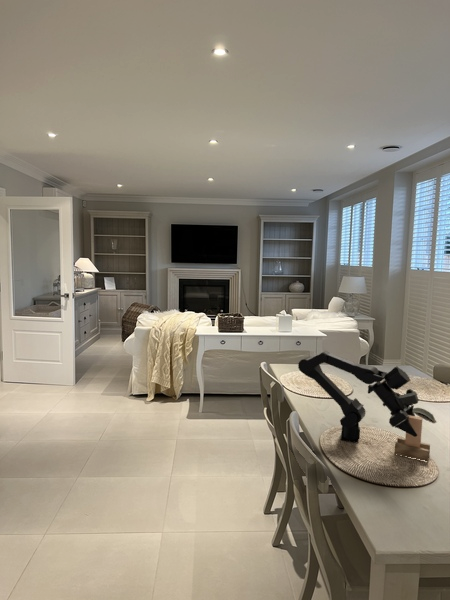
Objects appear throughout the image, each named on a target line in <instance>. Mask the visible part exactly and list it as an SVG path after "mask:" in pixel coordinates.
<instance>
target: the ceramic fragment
mask: <svg viewBox="0 0 450 600" xmlns="http://www.w3.org/2000/svg"><path fill="white" fill-rule="evenodd" d="M413 412H414V414H415V413H416V414H422V415H424V416H426V417H427V418H428V419H430V421H432V422H434V423H437V420H436V418H435V417H434V414H433V413H431V412H430V411H429V410H426V409H425V408H422V407H415V408H413Z"/></svg>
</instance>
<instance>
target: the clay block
mask: <svg viewBox="0 0 450 600" xmlns="http://www.w3.org/2000/svg"><path fill="white" fill-rule="evenodd" d="M408 416H409V422H410V424H411V425H412V427H413V429H414V430H415V432H416V433H417V436H416V437H414V436H412V435H410V434H409V433H407V432H405V438H404V439H405V444H406V445H410V446H414V447H418V448H420V446H421V442H422V433H423V421H424V420H423V419H424V418H423V417H422V416H421V417H420V416H416V415H415V416H411V415H408Z"/></svg>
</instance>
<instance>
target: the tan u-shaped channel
mask: <svg viewBox="0 0 450 600" xmlns="http://www.w3.org/2000/svg"><path fill="white" fill-rule="evenodd" d="M396 440H397V442H396V441H395V442H394V443H395V444H394V452H393V453H394V454H397V455H402V456H407V457H411V458H416V459H420V460H425V461H428V462H429V458H428V457H430V454H431V452H430V450H431V444H430V443H425V442H422V441H421V446H420V448H418V447H414V446H410V445H406V444H405V438H403V437H399V436H397V439H396ZM394 454H393V455H394ZM397 455H396V456H397Z"/></svg>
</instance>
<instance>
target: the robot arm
mask: <svg viewBox="0 0 450 600" xmlns="http://www.w3.org/2000/svg"><path fill="white" fill-rule="evenodd" d="M324 363H325V364H326V365H330V366H333V367H335V368H337V369H339V370H341V371H344V372H347V373H348V374H351V375H353V376H354V377H355V378H356V379H357V380H359V381H361V382H362V383H364V384H366V385H367V389H368V390H367V394H371V393H372V392H373V393H375V395H376V396H377V397H378V398H379V399H380V401H381V402H382V406H383V407H386V408H387V410H389V411H390V413H389V414H390V415H391V416H390V418H389V419H388V423H389V424H390V426H391V427H392V428H395V429H396V428H397V429H399V430H401V431H403V432H405V433H406V432H407V433H409V434H410V435H412V436H414V437H416V436H417V433H416V432H415V430H414V429H413V427H412V425H411V424H410V422H409V416H408V415H411V416H416V415H415V412H413V409H414V405H416V404H418V403H419V397H418V393H417V392H416V391H414V390H413V389H412V388H409V389H407V390H406V393H403V394H400V393H399V392H395V391H394V390H396V391H398V390H399V389H400V388H402V387H403V386H405V385H406V384H408V383H410V382H411V379H410V377H409V375H408V373H406V371H404V370H403V369H402V368H399V366H398V365H396V366H395V367H393V368H392V369H391V370H390V371H388V372H385V371H383V370H380V369H378V368H377V367H375V366H374V365H369V364H362V363H356V362H355V361H354V362H353V361H351V360H349V359H347V358H343V357H341V356H339V355H336V354H334V353H332V352H329V351H327V350H324V351H322V352H320V353H319V354H318V355H315V356H306V357H304V358H302V359H301V360H299V361H298V365H297V366H298V367H297V368H298V370H299V371H300V372H301V373H302V374H303V375H305V376H306V377H308V378H309V379H312V380H314V381H315V382H316V383H317V384H318V385H319V386H320V387H321V388H322V389H323V390H324V392H326V394H328V395H329V396H330V397H331V399H332V400H333V401H334V402H335V403H336V404H338V406H339V407H340V410H341V412H342V415H344V416H342V418H340V421H339V422H340V425H341V433H340V440H341V441H342V440H344V442H349V441H351V442H352V443H356V442H358V443H359V440H360V435H361V428H360V425H359V423H360V422H361V421H363V419H364V418H365V416H366V409H365V407H364V405H365V404H363V403H361V402H360V401H359V400H358V399H357V398H354V399H351V398H350V397H348V396H347V395H346V393H344V392H343V391H342V390H341V389H340V388H339V387H338V385H336V384H335V383H334V382H333V381H332V380H331V379H330V377H328V376H327V375H326V373H324V371H323V370H322V367H321V365H322V364H324Z"/></svg>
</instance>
